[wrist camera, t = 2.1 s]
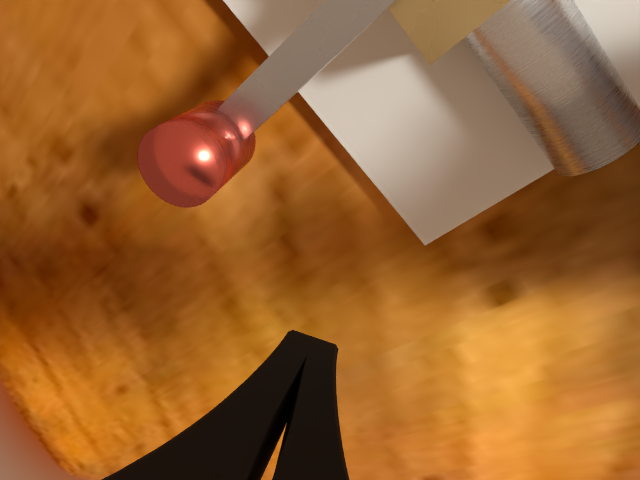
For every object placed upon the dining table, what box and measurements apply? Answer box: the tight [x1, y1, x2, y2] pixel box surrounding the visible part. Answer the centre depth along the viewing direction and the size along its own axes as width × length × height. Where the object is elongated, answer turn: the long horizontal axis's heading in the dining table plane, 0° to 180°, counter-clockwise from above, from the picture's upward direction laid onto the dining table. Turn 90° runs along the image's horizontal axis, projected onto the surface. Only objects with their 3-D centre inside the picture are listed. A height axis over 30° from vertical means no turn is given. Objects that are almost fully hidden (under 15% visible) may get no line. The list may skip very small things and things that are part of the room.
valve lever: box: [137, 0, 397, 207], centre depth 12 cm, size 11×2×3 cm, turn 132°
